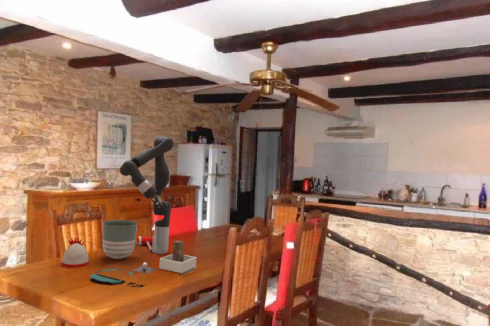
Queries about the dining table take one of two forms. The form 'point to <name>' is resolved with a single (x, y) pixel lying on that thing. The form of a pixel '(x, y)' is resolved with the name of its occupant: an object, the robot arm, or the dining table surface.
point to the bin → (178, 264)
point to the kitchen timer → (75, 255)
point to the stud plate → (144, 269)
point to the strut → (178, 251)
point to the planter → (119, 238)
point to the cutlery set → (110, 278)
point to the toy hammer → (145, 241)
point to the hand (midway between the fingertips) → (166, 209)
